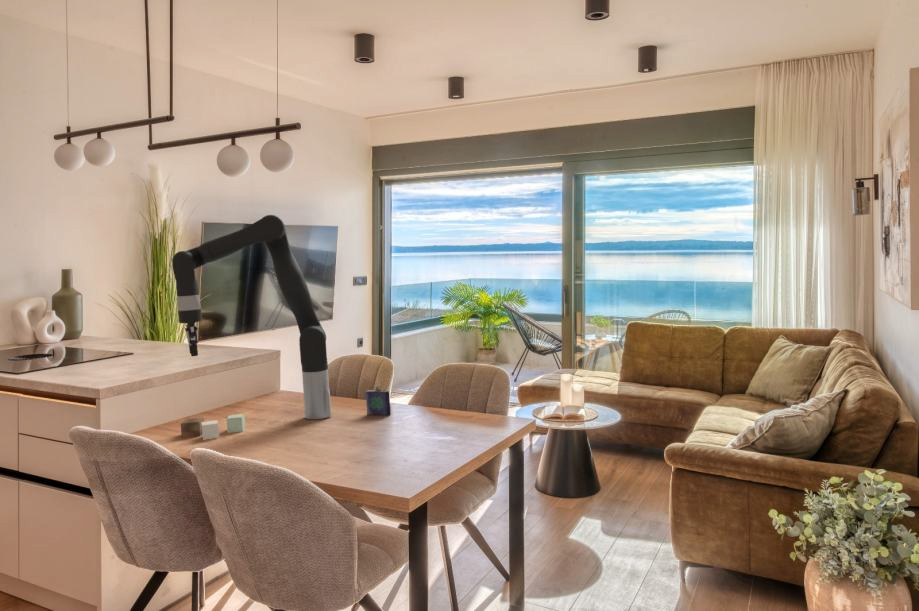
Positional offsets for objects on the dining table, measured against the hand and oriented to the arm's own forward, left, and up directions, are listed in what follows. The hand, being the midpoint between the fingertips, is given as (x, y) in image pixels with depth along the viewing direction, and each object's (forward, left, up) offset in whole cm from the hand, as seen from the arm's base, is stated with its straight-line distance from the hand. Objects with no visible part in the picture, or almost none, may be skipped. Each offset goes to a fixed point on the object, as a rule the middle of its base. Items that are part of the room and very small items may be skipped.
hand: (193, 354), depth 231 cm
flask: (-63, +3, -26) cm, 68 cm away
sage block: (-14, +8, -26) cm, 31 cm away
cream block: (-7, +15, -26) cm, 31 cm away
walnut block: (0, +9, -26) cm, 28 cm away
